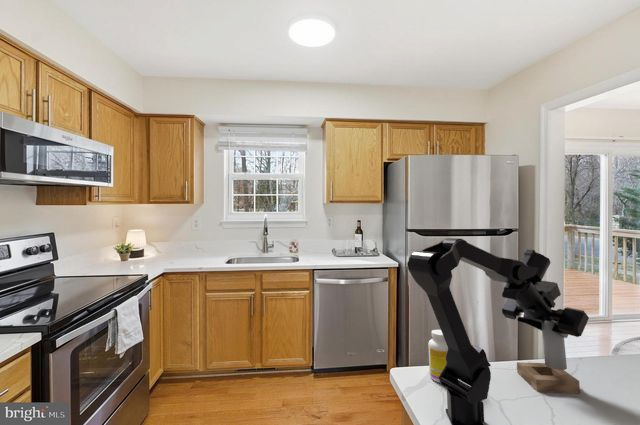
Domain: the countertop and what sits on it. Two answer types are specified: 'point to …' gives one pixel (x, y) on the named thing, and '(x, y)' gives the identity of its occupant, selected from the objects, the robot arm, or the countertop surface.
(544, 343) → the plug
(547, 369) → the brown square frame
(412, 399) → the countertop surface
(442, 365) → the supplement bottle
